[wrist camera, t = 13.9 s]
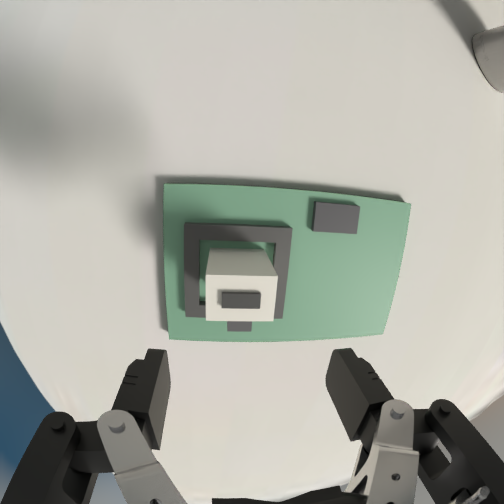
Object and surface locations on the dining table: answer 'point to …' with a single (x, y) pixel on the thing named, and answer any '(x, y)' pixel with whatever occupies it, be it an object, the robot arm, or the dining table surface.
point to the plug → (240, 287)
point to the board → (285, 258)
